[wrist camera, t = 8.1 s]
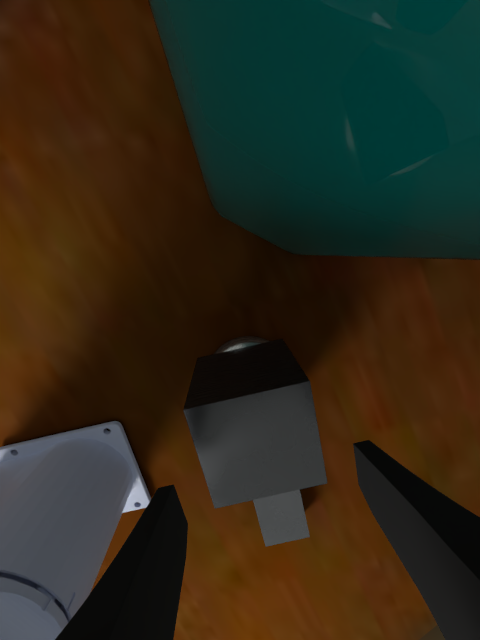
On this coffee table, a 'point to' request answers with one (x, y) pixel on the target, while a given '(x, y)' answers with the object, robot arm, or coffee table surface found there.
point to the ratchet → (282, 509)
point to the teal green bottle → (335, 120)
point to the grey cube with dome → (254, 424)
